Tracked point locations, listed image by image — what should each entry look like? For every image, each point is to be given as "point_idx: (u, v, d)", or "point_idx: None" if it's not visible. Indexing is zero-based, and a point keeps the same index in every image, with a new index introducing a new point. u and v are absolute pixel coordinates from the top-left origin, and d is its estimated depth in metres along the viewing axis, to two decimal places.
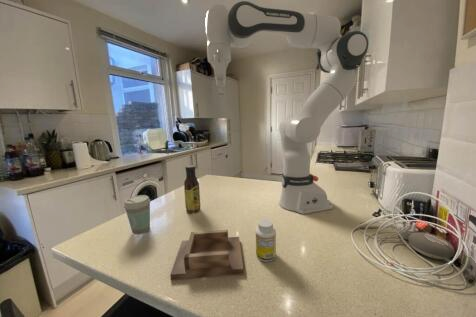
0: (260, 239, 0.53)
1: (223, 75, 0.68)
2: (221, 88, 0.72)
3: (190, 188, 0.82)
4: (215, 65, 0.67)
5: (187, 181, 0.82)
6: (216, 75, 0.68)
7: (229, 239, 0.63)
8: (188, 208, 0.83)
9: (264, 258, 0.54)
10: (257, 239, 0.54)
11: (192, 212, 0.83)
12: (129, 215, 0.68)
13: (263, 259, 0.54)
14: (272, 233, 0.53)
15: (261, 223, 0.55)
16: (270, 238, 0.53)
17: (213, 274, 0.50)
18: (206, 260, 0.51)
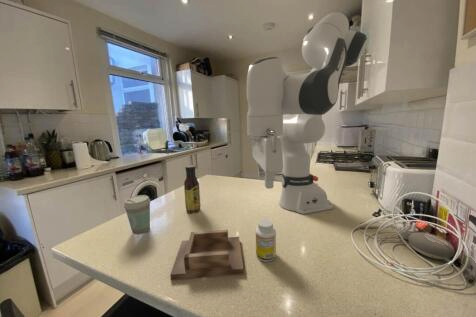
0: (260, 239, 0.53)
1: (279, 171, 0.42)
2: (270, 182, 0.47)
3: (190, 188, 0.82)
4: (268, 157, 0.41)
5: (187, 181, 0.82)
6: (268, 172, 0.42)
7: (229, 239, 0.63)
8: (188, 208, 0.83)
9: (264, 258, 0.54)
10: (257, 239, 0.54)
11: (192, 212, 0.83)
12: (129, 215, 0.68)
13: (263, 259, 0.54)
14: (272, 233, 0.53)
15: (261, 223, 0.55)
16: (270, 238, 0.53)
17: (213, 274, 0.50)
18: (206, 260, 0.51)
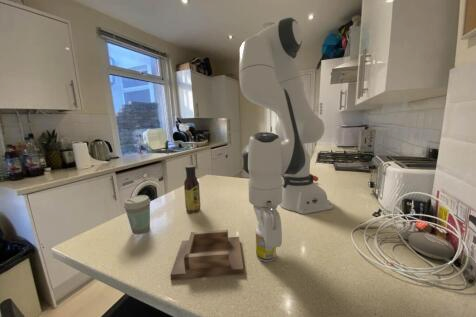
0: (260, 239, 0.53)
1: (279, 246, 0.46)
2: None
3: (190, 188, 0.82)
4: (268, 234, 0.45)
5: (187, 181, 0.82)
6: (269, 246, 0.45)
7: (229, 239, 0.63)
8: (188, 208, 0.83)
9: (264, 258, 0.54)
10: (257, 239, 0.54)
11: (192, 212, 0.83)
12: (129, 215, 0.68)
13: (263, 259, 0.54)
14: None
15: None
16: None
17: (213, 274, 0.50)
18: (206, 260, 0.51)
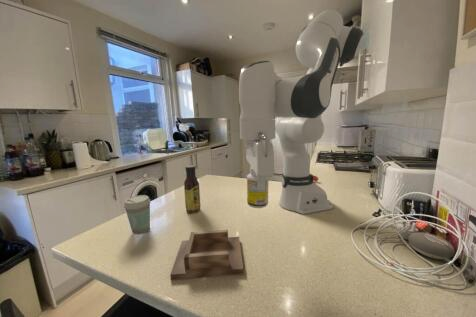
0: (251, 182, 0.50)
1: (271, 176, 0.42)
2: (262, 184, 0.48)
3: (190, 188, 0.82)
4: (259, 161, 0.41)
5: (187, 181, 0.82)
6: (260, 176, 0.42)
7: (229, 239, 0.63)
8: (188, 208, 0.83)
9: (255, 204, 0.51)
10: (248, 184, 0.51)
11: (192, 212, 0.83)
12: (129, 215, 0.68)
13: (254, 205, 0.51)
14: None
15: None
16: None
17: (213, 274, 0.50)
18: (206, 260, 0.51)
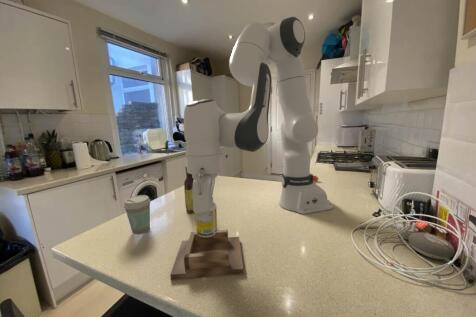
0: None
1: (207, 212, 0.44)
2: (206, 215, 0.50)
3: (190, 188, 0.82)
4: (194, 199, 0.43)
5: (187, 181, 0.82)
6: (196, 212, 0.44)
7: (229, 239, 0.63)
8: (188, 208, 0.83)
9: (202, 233, 0.53)
10: (196, 214, 0.53)
11: (192, 212, 0.83)
12: (129, 215, 0.68)
13: (201, 234, 0.53)
14: None
15: None
16: None
17: (213, 274, 0.50)
18: (206, 260, 0.51)
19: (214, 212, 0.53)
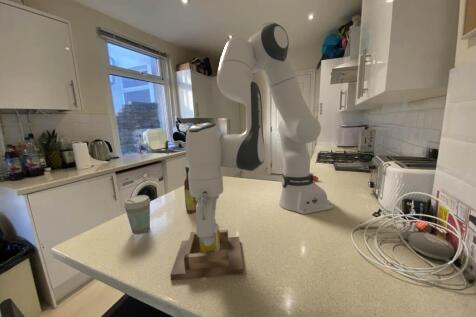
0: None
1: (210, 236, 0.45)
2: (208, 240, 0.50)
3: None
4: (198, 224, 0.44)
5: (187, 181, 0.82)
6: (199, 237, 0.45)
7: (229, 239, 0.63)
8: (188, 208, 0.83)
9: None
10: None
11: (192, 212, 0.83)
12: (129, 215, 0.68)
13: None
14: None
15: None
16: None
17: (213, 274, 0.50)
18: (206, 260, 0.51)
19: (217, 233, 0.54)
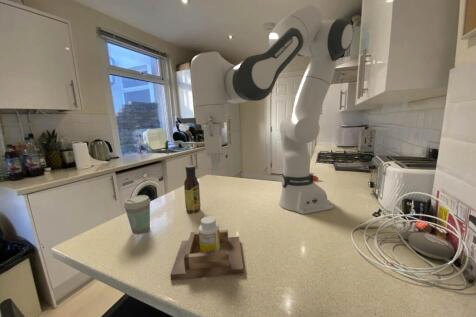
0: (201, 235, 0.53)
1: (218, 153, 0.47)
2: (216, 164, 0.52)
3: (190, 188, 0.82)
4: (206, 141, 0.46)
5: (187, 181, 0.82)
6: (208, 154, 0.47)
7: (229, 239, 0.63)
8: (188, 208, 0.83)
9: None
10: (199, 236, 0.54)
11: (192, 212, 0.83)
12: (129, 215, 0.68)
13: None
14: (213, 229, 0.53)
15: (204, 219, 0.55)
16: (210, 235, 0.53)
17: (213, 274, 0.50)
18: (206, 260, 0.51)
19: (217, 233, 0.54)
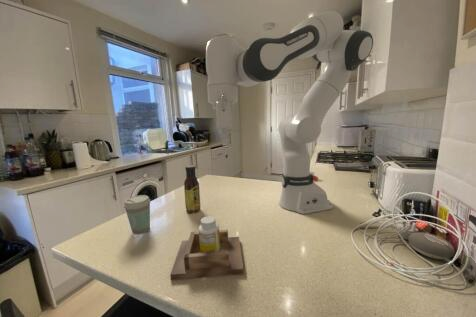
0: (201, 235, 0.53)
1: (228, 127, 0.52)
2: (225, 140, 0.56)
3: (190, 188, 0.82)
4: (218, 115, 0.51)
5: (187, 181, 0.82)
6: (219, 128, 0.51)
7: (229, 239, 0.63)
8: (188, 208, 0.83)
9: None
10: (199, 236, 0.54)
11: (192, 212, 0.83)
12: (129, 215, 0.68)
13: None
14: (213, 229, 0.53)
15: (204, 219, 0.55)
16: (210, 234, 0.53)
17: (213, 274, 0.50)
18: (206, 260, 0.51)
19: (217, 233, 0.54)
